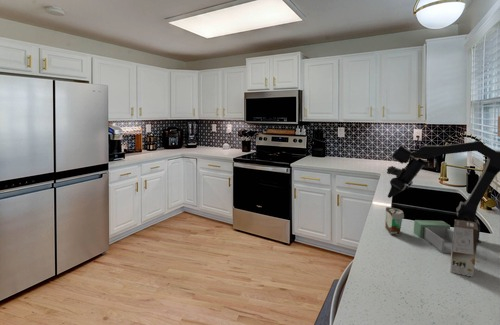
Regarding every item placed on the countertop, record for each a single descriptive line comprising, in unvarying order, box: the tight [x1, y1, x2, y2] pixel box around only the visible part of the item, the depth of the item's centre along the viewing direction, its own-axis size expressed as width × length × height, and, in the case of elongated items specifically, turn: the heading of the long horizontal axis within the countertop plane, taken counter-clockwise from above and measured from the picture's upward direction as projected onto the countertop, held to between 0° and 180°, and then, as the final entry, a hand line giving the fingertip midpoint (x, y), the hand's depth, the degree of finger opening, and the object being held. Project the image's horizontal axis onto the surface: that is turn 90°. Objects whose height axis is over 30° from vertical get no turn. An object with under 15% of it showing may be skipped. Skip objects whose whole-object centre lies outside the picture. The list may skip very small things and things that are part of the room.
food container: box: [384, 206, 405, 236], centre depth 134 cm, size 12×6×10 cm, turn 168°
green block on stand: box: [413, 219, 454, 254], centre depth 122 cm, size 12×21×6 cm, turn 175°
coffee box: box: [449, 219, 478, 278], centre depth 99 cm, size 9×6×16 cm
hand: (390, 196), depth 141 cm, fingers open, 9 cm apart
